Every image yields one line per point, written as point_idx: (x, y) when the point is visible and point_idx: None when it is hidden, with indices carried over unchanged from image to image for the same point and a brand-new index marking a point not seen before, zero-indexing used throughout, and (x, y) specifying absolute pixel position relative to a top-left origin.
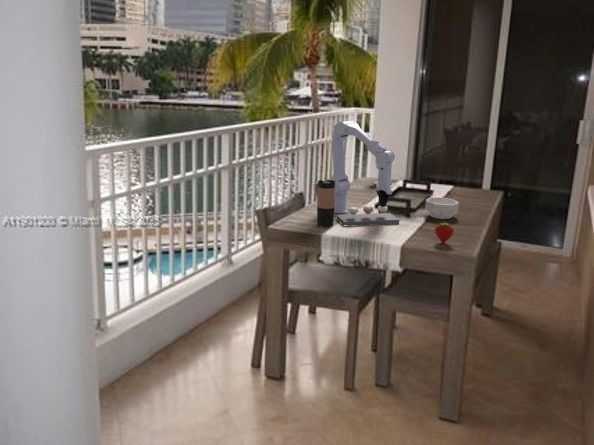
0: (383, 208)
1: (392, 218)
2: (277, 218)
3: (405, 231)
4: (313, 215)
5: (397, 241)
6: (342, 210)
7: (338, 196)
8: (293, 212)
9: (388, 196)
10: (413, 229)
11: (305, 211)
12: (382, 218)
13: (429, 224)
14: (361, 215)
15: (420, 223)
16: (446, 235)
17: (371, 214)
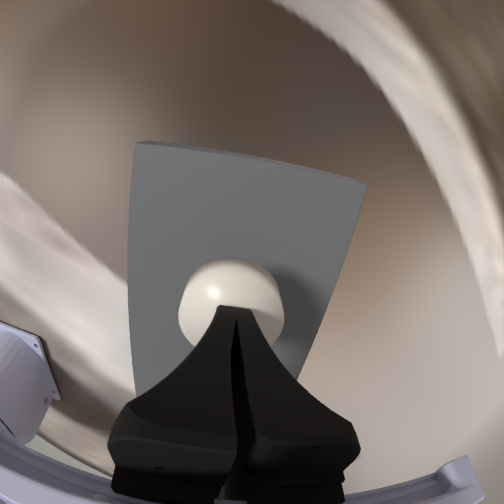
0: (278, 334)
1: (313, 219)
2: None
3: (472, 242)
4: (89, 437)
5: (501, 335)
6: (38, 366)
7: (16, 432)
8: (61, 446)
9: (312, 404)
10: (473, 176)
11: (44, 425)
12: (280, 291)
13: (427, 8)
14: (162, 368)
15: (395, 32)
16: None
17: (148, 308)
